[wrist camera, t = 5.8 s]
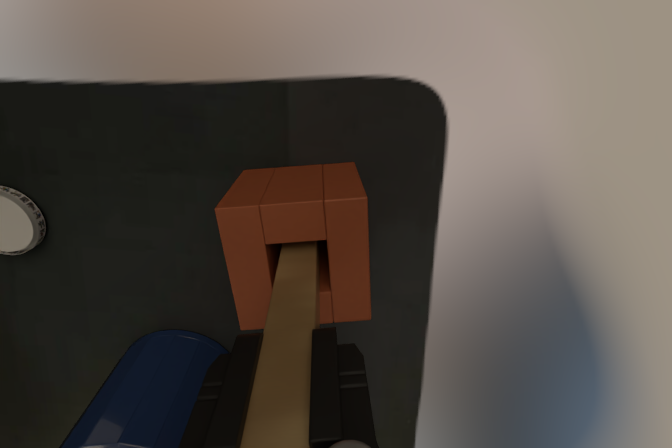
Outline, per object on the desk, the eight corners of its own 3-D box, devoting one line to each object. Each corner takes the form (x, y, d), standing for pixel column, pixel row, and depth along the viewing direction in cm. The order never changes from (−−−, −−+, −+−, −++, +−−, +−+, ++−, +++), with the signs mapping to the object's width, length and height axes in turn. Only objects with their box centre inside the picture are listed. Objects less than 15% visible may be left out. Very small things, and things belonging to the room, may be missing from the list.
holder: (354, 161, 20) (367, 196, 14) (358, 258, 22) (371, 320, 17) (243, 169, 20) (214, 208, 14) (260, 266, 22) (240, 331, 17)
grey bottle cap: (-48, 195, 20) (-59, 199, 19) (18, 177, 19) (9, 180, 19) (-3, 257, 21) (-12, 262, 21) (59, 241, 21) (52, 246, 20)
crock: (228, 324, 24) (187, 437, 17) (248, 410, 27) (221, 535, 20) (106, 334, 24) (11, 452, 16) (140, 418, 27) (74, 548, 20)
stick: (317, 203, 21) (311, 527, 6) (319, 228, 21) (320, 575, 7) (290, 205, 21) (218, 536, 6) (293, 230, 21) (235, 583, 7)
